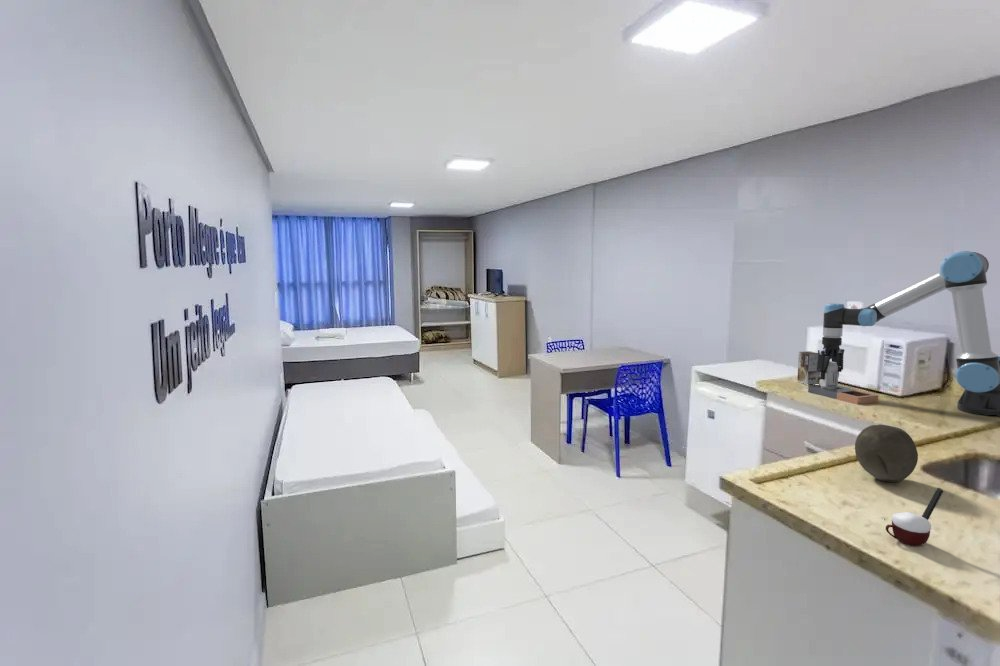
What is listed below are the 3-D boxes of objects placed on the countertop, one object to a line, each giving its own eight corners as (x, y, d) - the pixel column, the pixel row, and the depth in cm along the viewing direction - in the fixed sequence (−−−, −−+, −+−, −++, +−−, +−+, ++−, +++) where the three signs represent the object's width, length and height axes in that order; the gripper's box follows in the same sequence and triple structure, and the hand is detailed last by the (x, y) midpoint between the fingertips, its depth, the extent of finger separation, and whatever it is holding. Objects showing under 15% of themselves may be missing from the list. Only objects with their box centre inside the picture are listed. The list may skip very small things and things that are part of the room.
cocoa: (885, 544, 103) (887, 490, 102) (883, 530, 109) (884, 478, 107) (945, 555, 98) (948, 499, 97) (939, 540, 103) (942, 486, 102)
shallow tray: (808, 391, 233) (808, 385, 233) (827, 390, 237) (827, 383, 236) (857, 404, 210) (857, 397, 210) (878, 402, 214) (878, 395, 213)
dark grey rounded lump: (930, 487, 129) (935, 432, 127) (884, 492, 127) (889, 436, 125) (881, 467, 143) (885, 417, 141) (838, 470, 141) (842, 420, 139)
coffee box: (820, 385, 246) (822, 353, 245) (807, 385, 246) (809, 354, 245) (809, 381, 255) (810, 351, 254) (796, 381, 256) (798, 351, 254)
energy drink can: (830, 395, 226) (832, 363, 224) (817, 392, 231) (819, 361, 229) (839, 394, 228) (841, 362, 226) (826, 391, 234) (828, 360, 232)
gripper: (840, 334, 233) (836, 382, 235) (809, 336, 227) (806, 385, 230) (855, 336, 226) (851, 385, 228) (823, 338, 220) (820, 388, 223)
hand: (828, 385), depth 229 cm, fingers closed on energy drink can, 6 cm apart
